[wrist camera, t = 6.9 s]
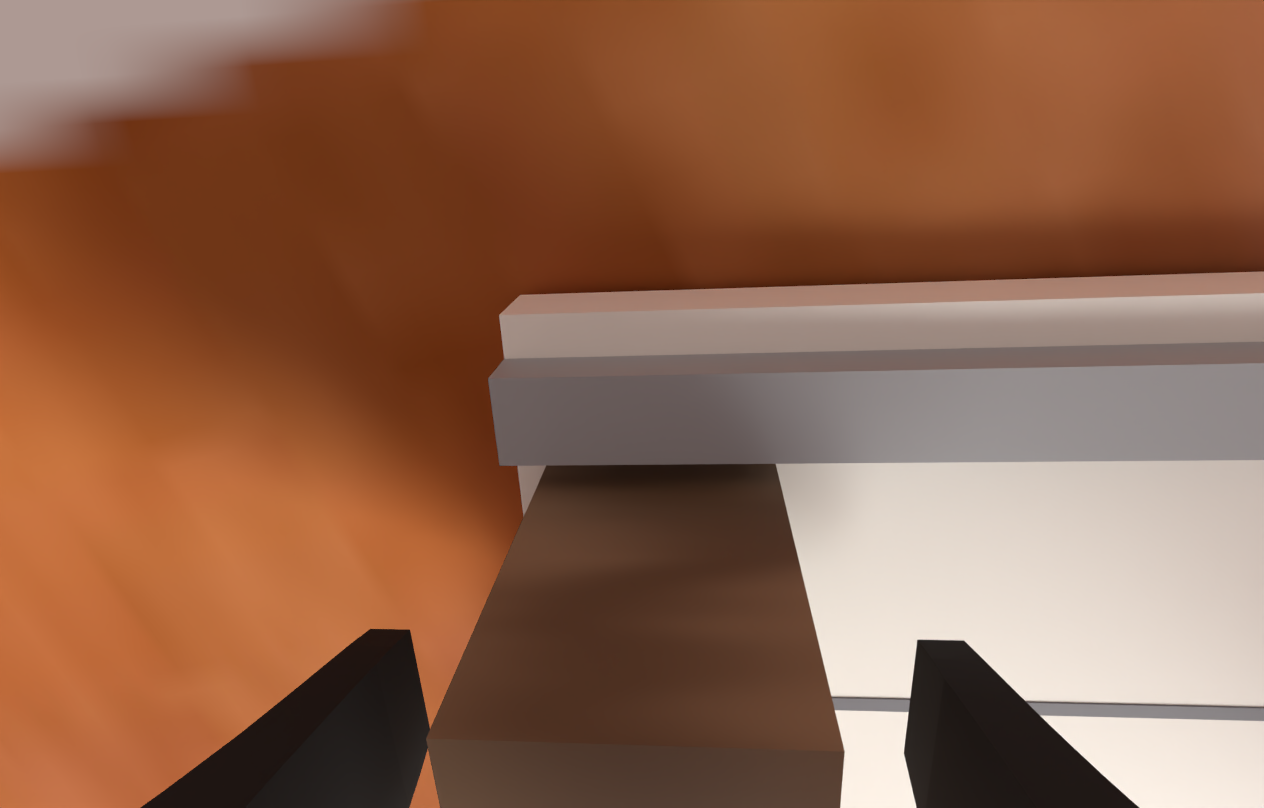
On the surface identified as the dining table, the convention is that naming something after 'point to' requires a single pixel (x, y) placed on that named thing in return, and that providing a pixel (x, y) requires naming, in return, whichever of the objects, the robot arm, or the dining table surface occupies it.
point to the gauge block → (644, 653)
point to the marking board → (965, 489)
